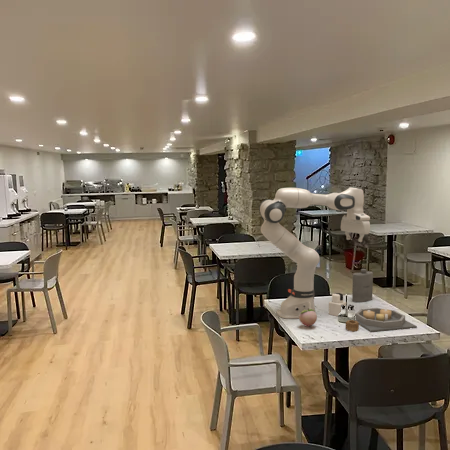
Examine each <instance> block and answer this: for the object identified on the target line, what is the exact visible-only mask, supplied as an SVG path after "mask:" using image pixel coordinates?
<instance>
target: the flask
mask: <svg viewBox="0 0 450 450" xmlns="http://www.w3.org/2000/svg"><path fill="white" fill-rule="evenodd" d="M373 281H374V273H373V271H370V270H369V271H368V270H367V269H366V268H361V269H360V272H353V273H352V290H351V291H352V292H351V293H352V294H351V297H352V299H351V301H352V302H353V303H365V302H369V301H372V300H373V290H374V289H373V288H374V287H373V283H374V282H373Z"/></svg>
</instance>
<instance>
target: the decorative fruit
mask: <svg viewBox="0 0 450 450" xmlns="http://www.w3.org/2000/svg"><path fill="white" fill-rule="evenodd" d="M298 319H299V321H300V323H301V324H302V325H303V326H305V327H307V328H308V327H310V326H312V325H314V324H316V322H317V320H318V316H317V312H316V313H315V312H314V310H312V309H309V308H308V310H303V311H302V312H301V313H300V315H299V318H298Z"/></svg>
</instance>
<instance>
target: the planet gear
mask: <svg viewBox="0 0 450 450" xmlns="http://www.w3.org/2000/svg"><path fill="white" fill-rule="evenodd" d="M359 328H360V325H359V323H358V322H357V321H354V320H351V319H348V320H346V321H345V329H346V331H348V332H357V331H359Z"/></svg>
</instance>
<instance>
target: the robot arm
mask: <svg viewBox="0 0 450 450" xmlns="http://www.w3.org/2000/svg"><path fill="white" fill-rule="evenodd" d="M364 194H365V193H364V190H363V189H362V188H361V187H354V186H349V187H348V188H347V189H346V190H344V191H341V192H336V191H332V192H329V193H325V194H323V193H322V194H321V193H314V192H313V193H312V192H311V191H310V190H309V189H304V188H302V187H301V188H300V187H299V188H298V187H282V188H279V189H278V190H276V193H275V197H274V198H273V199H271V198H269V199H264V200H262V201H261V202H260V204H259V207H258V210H259V214H260V217H261V219H262V220H263V223H262V224H261V227H260V232H261V234H262V235H263V236H264V238H265V239H267V241H269V242H270V243H271V244H272V245H273V246H275V247H276V248H277V249H278V250H279V251H281V252H283V254H285V256H287V257H288V258H289V259H290V260H291V261H293V262H294V263H295V264H297V267H296V271H295V273H294V275H293V288H292V289H290V288H288V289H287V292H288V293H289V294H290V295H289V296H287V298H286V299H285V300H283V301H282V302H281V304H280V309H277V310H276V312H275V313H276V315H277V316H278V317H280V318H282V319H287V320H288V319H289V320H293V319H299V315H300V313H301V312H302V311H303V310H308V308H309V309H312V310H314V312H315V313H316V314H317V312H316V307H315V300H314V299H315V289H314V285H315V284H314V281H315V278H314V277H315V273H316V269H317V265H319V263H320V258H321V257H320V255H319V253H318V252H317V251H316V250H315V249H314V248H312V247H309V246H306V245H305V244H303V242H301V240H299V239H298V238H297V237H296V235H294V233H291V232H290V231H289V230H288V229H287V228H286V227H284V226H283V225H282V224H280V223H281V221H282V220H283V218H284V217H285V214H286V211H287V208H292V209H306V208H308V207H309V206H313V205H315V206H323V207H326V208H328V209H330V210H334V211H335V210H336V211H340V212H341V211H345V210H346V214H344V215H343V216H342V218H341V221H340V231H341V232H344V234H345V236H346V240H347V241H348V240H351V237H352V236H350V234H351V233H353V234H359V238H358V239H357V241H358V242H360V243H362V242H363V239H364V237H365V235H369V234H370V233H371V223H370V220H371V217H370V215H367V214H366V213H364V204H365V197H364V196H365V195H364Z"/></svg>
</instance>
